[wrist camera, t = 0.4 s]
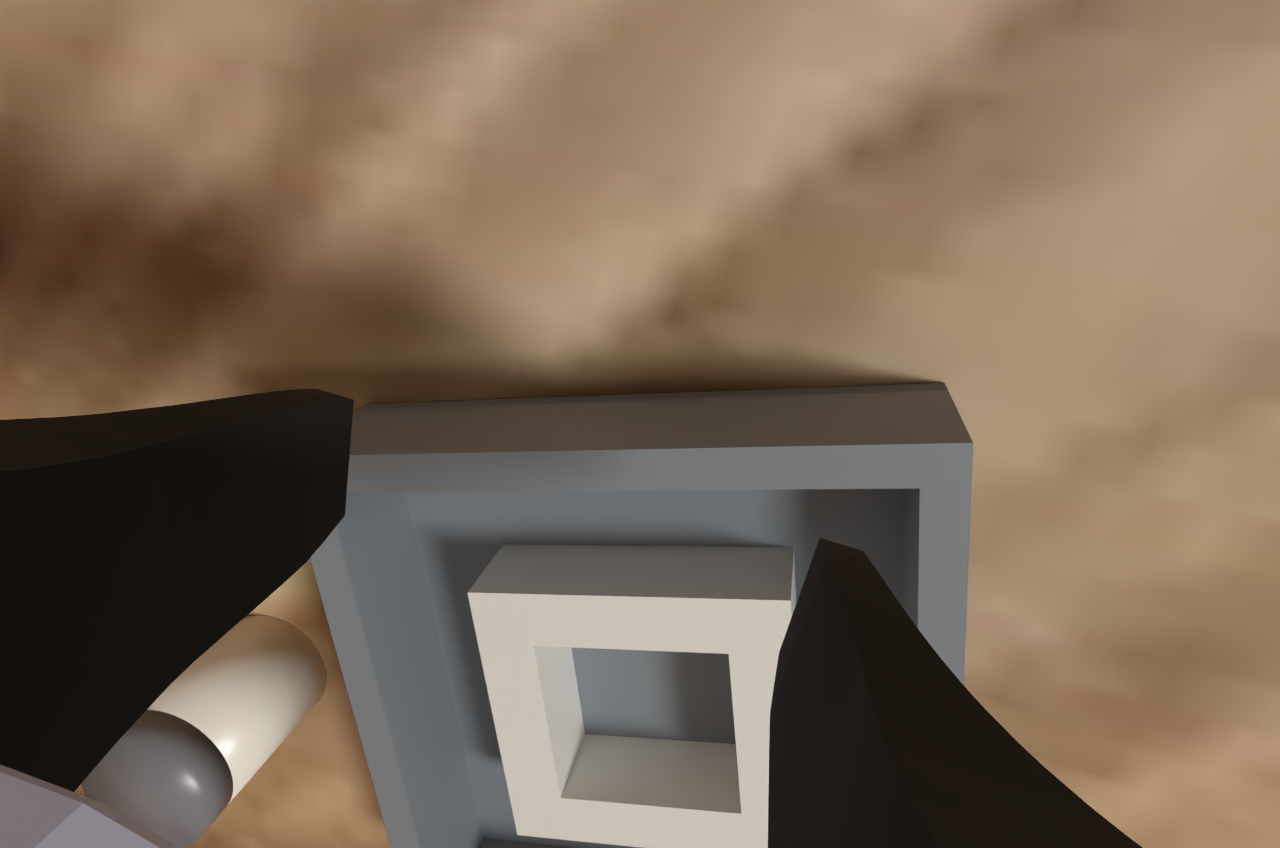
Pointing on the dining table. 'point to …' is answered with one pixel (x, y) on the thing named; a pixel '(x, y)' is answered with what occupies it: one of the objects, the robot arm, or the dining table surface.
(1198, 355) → the dining table surface
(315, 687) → the connector peg
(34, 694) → the robot arm
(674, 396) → the walled box
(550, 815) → the inlet socket
